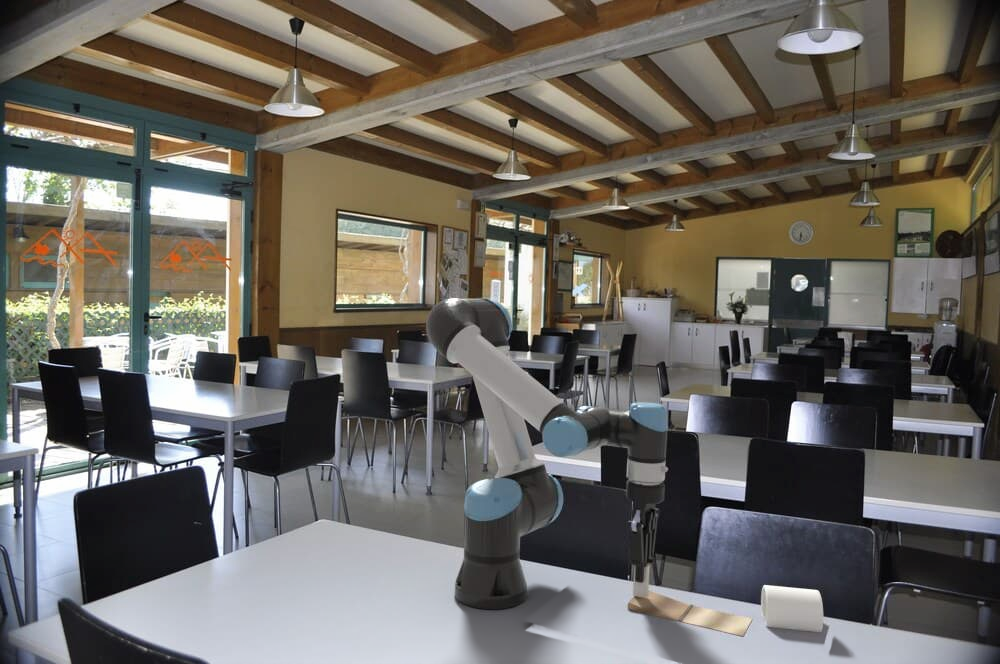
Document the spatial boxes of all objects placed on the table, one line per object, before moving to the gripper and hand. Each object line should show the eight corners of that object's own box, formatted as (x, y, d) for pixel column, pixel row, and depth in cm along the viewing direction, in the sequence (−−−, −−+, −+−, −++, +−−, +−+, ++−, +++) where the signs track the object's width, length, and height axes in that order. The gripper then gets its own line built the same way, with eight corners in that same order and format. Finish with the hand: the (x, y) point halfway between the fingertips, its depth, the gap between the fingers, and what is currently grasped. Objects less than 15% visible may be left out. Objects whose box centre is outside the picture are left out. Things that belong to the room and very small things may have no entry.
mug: (822, 642, 139) (824, 600, 138) (766, 636, 141) (767, 594, 140) (809, 615, 151) (811, 576, 150) (757, 609, 153) (759, 571, 152)
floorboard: (678, 627, 143) (678, 619, 143) (690, 611, 151) (690, 604, 151) (742, 643, 137) (742, 635, 137) (751, 625, 145) (752, 618, 145)
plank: (627, 608, 148) (628, 602, 148) (641, 593, 156) (642, 588, 155) (676, 626, 143) (677, 620, 143) (688, 610, 151) (689, 605, 151)
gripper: (653, 490, 142) (648, 611, 144) (673, 476, 154) (668, 589, 155) (616, 484, 146) (611, 602, 147) (638, 471, 157) (633, 581, 159)
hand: (640, 595), depth 151 cm, fingers closed
